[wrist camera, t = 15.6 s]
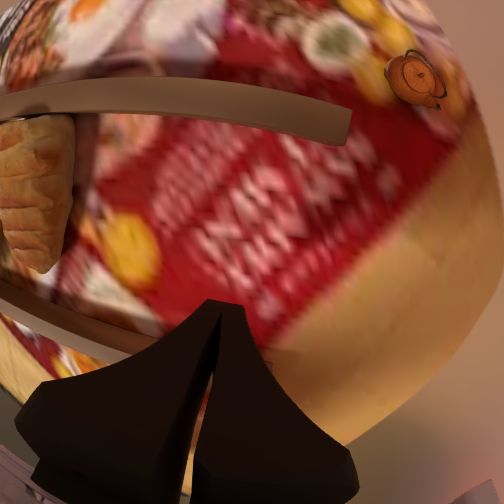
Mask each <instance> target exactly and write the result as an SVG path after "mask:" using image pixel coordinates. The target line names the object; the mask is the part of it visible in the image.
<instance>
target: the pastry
mask: <svg viewBox="0 0 504 504" xmlns="http://www.w3.org/2000/svg"><path fill="white" fill-rule="evenodd" d="M75 145H76V136H75V125H74V122H73V119H72V118H71V116H70V115H68V114H66V113H60V114H46V115H43V116H40V117H37V118H32V119H26V120H19V121H13V122H7V123H3V124H1V125H0V219H1V221H2V224H3V232H4V235H5V237H6V238H7V240H8V241H9V244H10V246H11V248H12V250H13V252H14V254H15V256H16V258H17V259H18V260H19V261H20V262H21V263H23V264H24V265H26V266H28V267H30V268H32V269H35V270H36V271H37V272H38V273H40V274H45V273H47V272H48V271H49V270H50V269H51V268H52V267H53V265H54V264H55V263H56V262H57V261H58V260H59V258H60V256H61V252H62V247H63V244H64V233H65V229H66V225H67V220H68V216H69V213H70V211H71V209H72V206H73V196H72V187H73V172H74V165H75Z"/></svg>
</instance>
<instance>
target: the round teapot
mask: <svg viewBox="0 0 504 504" xmlns="http://www.w3.org/2000/svg"><path fill="white" fill-rule="evenodd" d="M409 52H416V53H418V54H419V55H421V56H422V57H423V59H424V60H425V61H426V63H427V64H429V65H430V66H431V67H432V69H433V70H434V71H435V72H436V74H437V76H438V77H439V78H440V80H441V83H442V86H443V88H444V95H443V96H440V97H437V96H433V94H434V91H435V80H434V77H433V75H432V73H431V71H430V70H429V68H428V67H427V66H426V65H425V64H424V63H423V62H421V61H420V60H418V59H417V58H414V57H411V56H407V55H408V53H409ZM384 76H385V78H386V79H387V80H388V81H389V83H390V86H391V88H392V89H393V91H394V92H395V93H396V95H397V96H398V97H399V98H401V99H402V100H404V101H405V102H407V103H409V104H412V105H423V106H426V107H428V108H434V109H436V110H437V111H439V112H440V111H441V108H440V105H439V104H438V103H437V102H436V101H435V100H434V99H433V97H435V98H440V99H442V98H445V97H446V96H447V92H446V86H445V84H444V82H443V80H442V78H441V77H440V75H439V73H438V71H437V70H436V68H435V67H434V66H433V65H432V64H431V63H430V62H429V61H428V60H427V58H425V57H424V55H422V54H421V53H420V52H418V51H416V50H412V49H410V50H407V51H406V54H405V55H404V56H398V57H395V58H393V59H391V60H389V61H388V62H387V64H386V65H385V68H384ZM432 96H433V97H432Z"/></svg>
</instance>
